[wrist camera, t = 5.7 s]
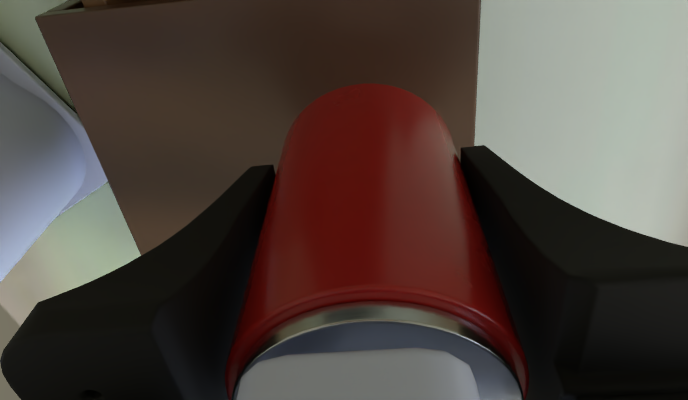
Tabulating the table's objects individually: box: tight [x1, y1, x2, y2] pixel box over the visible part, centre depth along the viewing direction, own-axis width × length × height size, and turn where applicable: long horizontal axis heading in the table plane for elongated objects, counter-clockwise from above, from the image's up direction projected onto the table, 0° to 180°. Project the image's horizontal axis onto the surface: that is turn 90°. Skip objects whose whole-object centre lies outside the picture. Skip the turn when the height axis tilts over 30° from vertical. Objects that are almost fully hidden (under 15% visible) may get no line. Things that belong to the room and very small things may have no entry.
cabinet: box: [35, 0, 481, 255], centre depth 21 cm, size 14×13×7 cm
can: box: [225, 84, 530, 400], centre depth 11 cm, size 5×5×8 cm
